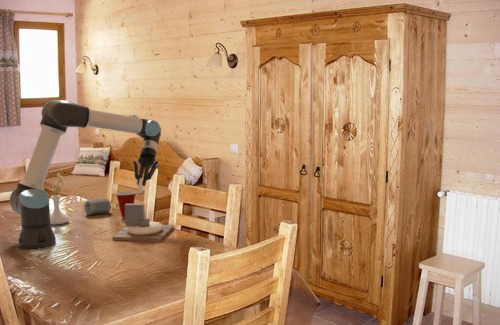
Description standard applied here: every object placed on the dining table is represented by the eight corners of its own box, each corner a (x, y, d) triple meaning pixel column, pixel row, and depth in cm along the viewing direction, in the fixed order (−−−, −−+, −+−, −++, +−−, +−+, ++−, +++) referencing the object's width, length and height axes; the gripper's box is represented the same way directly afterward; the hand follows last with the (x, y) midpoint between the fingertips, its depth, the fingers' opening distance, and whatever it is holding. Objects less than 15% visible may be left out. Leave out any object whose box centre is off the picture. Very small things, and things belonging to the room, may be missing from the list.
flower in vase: (62, 227, 264) (58, 176, 260) (40, 225, 267) (37, 175, 263) (75, 220, 277) (72, 171, 273) (55, 219, 279) (52, 170, 275)
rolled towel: (84, 211, 281) (87, 193, 284) (81, 216, 289) (84, 198, 292) (110, 215, 285) (113, 197, 289) (107, 219, 294) (110, 202, 297)
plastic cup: (135, 211, 295) (134, 189, 293) (139, 215, 285) (138, 193, 283) (114, 213, 290) (113, 191, 289) (118, 217, 281) (117, 195, 279)
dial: (166, 225, 258) (165, 201, 256) (156, 235, 242) (155, 209, 240) (132, 224, 260) (131, 200, 258) (120, 234, 244) (119, 208, 243)
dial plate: (160, 241, 239) (160, 237, 239) (112, 240, 242) (112, 236, 242) (174, 228, 261) (174, 224, 260) (129, 226, 264) (129, 223, 263)
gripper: (163, 155, 275) (154, 195, 261) (138, 155, 276) (128, 195, 263) (159, 146, 269) (150, 186, 255) (134, 146, 270) (124, 186, 257)
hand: (139, 190), depth 259 cm, fingers closed
